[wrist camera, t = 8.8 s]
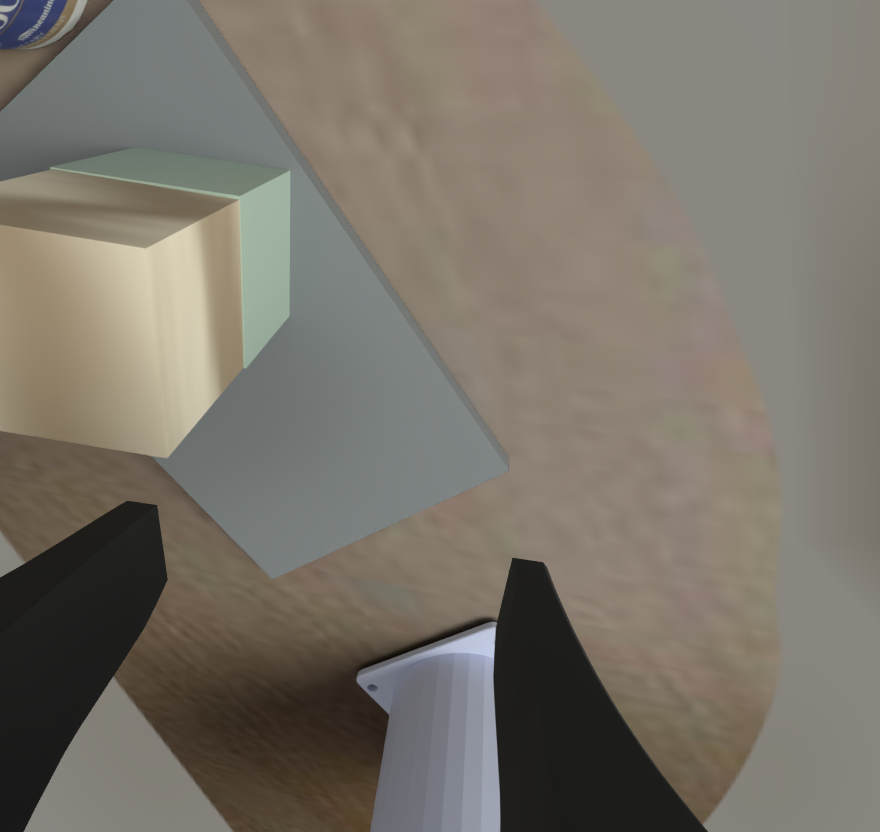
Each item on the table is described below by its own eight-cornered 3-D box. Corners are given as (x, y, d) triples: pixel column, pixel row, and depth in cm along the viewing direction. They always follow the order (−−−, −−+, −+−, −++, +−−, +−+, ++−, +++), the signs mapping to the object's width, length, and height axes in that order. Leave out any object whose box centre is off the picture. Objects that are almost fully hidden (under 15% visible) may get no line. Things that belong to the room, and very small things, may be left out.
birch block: (239, 199, 14) (145, 248, 10) (243, 367, 17) (167, 458, 13) (53, 169, 14) (-108, 207, 10) (82, 341, 17) (-42, 424, 13)
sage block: (290, 170, 18) (240, 196, 14) (289, 316, 20) (245, 368, 17) (137, 146, 18) (50, 167, 14) (153, 295, 20) (81, 343, 17)
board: (508, 458, 23) (509, 470, 22) (278, 566, 27) (272, 579, 26) (171, -39, 16) (157, -43, 15) (-75, 200, 20) (-96, 205, 19)
